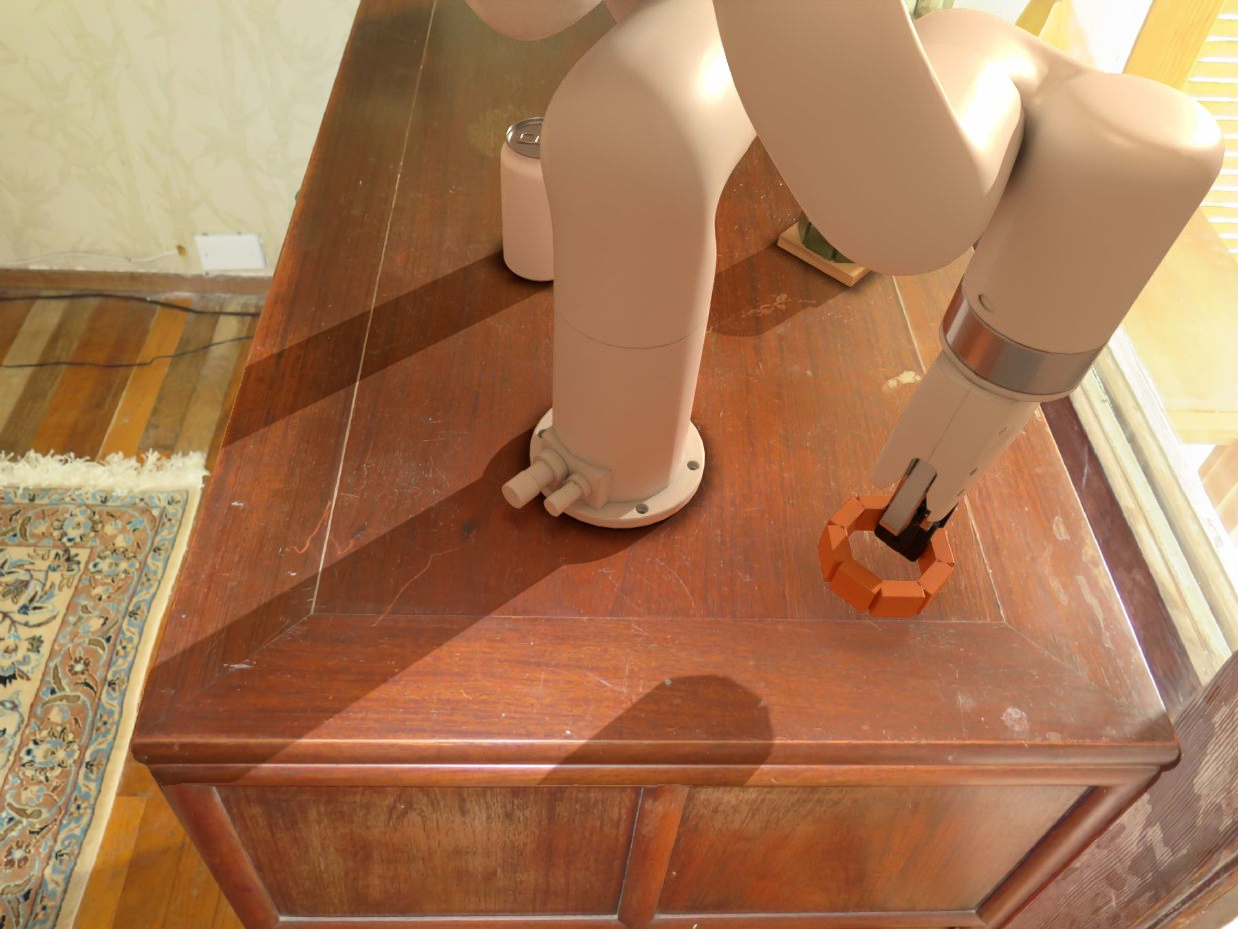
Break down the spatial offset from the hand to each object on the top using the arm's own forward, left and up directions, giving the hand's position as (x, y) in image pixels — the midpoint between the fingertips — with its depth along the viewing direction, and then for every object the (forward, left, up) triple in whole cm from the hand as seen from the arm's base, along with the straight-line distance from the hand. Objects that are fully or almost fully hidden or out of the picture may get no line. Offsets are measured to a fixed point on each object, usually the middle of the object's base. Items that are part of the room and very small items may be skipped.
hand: (905, 535), depth 64 cm
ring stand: (+27, +23, -4) cm, 35 cm away
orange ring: (-3, 0, 0) cm, 3 cm away
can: (+6, +40, -4) cm, 40 cm away
